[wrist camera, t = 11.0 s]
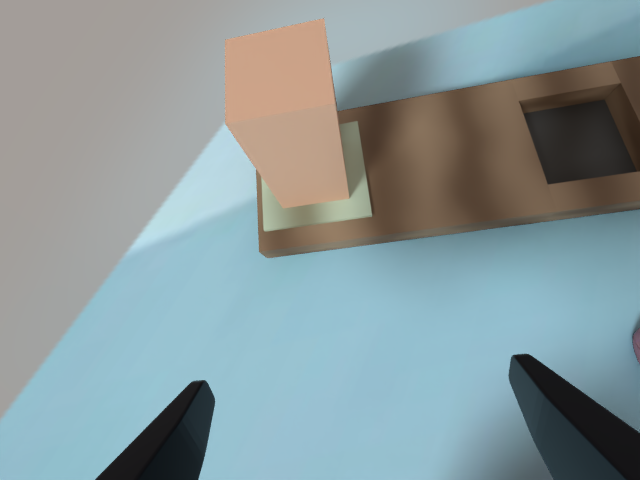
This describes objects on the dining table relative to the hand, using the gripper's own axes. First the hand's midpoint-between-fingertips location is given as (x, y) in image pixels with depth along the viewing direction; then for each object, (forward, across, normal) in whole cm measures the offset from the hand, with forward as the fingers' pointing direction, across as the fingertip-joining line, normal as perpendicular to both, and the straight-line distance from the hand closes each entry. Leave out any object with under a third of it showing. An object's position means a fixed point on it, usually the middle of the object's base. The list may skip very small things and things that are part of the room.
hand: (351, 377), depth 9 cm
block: (+17, +2, -2) cm, 17 cm away
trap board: (+19, -7, 0) cm, 20 cm away
